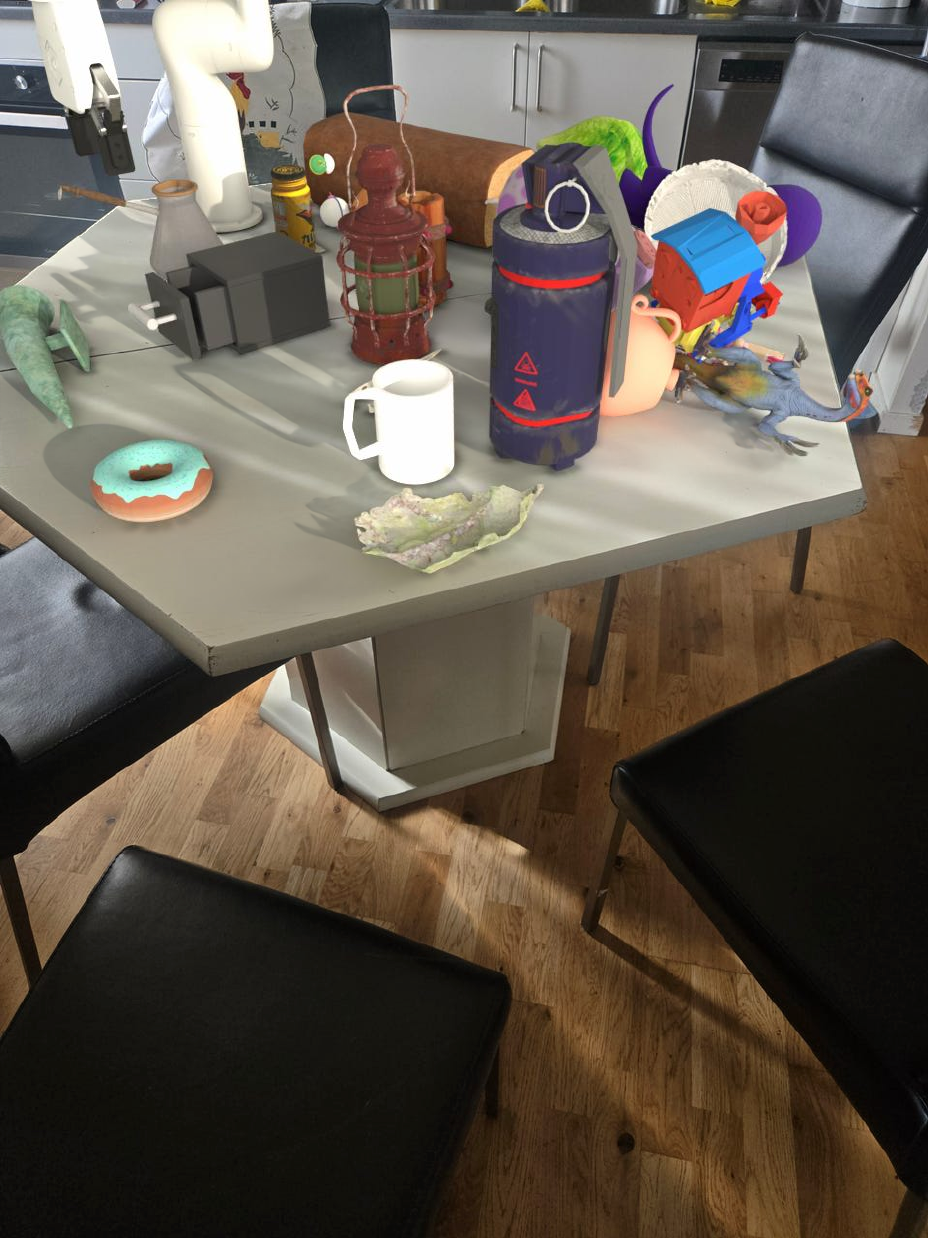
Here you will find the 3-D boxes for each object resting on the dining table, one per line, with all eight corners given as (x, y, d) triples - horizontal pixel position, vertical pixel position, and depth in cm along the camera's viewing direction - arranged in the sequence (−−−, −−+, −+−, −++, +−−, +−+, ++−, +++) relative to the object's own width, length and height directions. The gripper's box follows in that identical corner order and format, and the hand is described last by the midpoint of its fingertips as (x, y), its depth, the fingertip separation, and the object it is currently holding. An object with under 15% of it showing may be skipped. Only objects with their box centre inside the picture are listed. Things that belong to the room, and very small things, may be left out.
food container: (667, 312, 123) (655, 331, 130) (805, 275, 123) (786, 296, 130) (627, 175, 123) (617, 200, 130) (764, 139, 124) (747, 166, 131)
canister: (471, 459, 97) (472, 160, 77) (512, 409, 105) (522, 126, 85) (593, 488, 93) (628, 180, 73) (625, 433, 101) (665, 142, 81)
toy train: (630, 318, 107) (653, 214, 93) (737, 267, 110) (774, 158, 96) (682, 376, 103) (713, 277, 89) (790, 321, 106) (837, 217, 93)
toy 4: (798, 334, 107) (682, 286, 108) (785, 368, 105) (667, 319, 106) (772, 372, 114) (664, 327, 115) (760, 405, 112) (649, 359, 113)
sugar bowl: (570, 425, 100) (657, 451, 101) (615, 305, 91) (709, 334, 92) (574, 381, 110) (653, 406, 110) (615, 269, 101) (700, 296, 102)
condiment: (326, 251, 142) (317, 170, 134) (277, 262, 139) (265, 180, 131) (306, 237, 147) (296, 158, 139) (258, 248, 143) (245, 167, 135)
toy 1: (329, 153, 149) (345, 145, 142) (348, 229, 154) (365, 225, 147) (298, 159, 147) (313, 152, 141) (318, 236, 152) (334, 233, 146)
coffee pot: (222, 257, 141) (203, 154, 130) (239, 284, 133) (220, 176, 123) (81, 279, 134) (50, 172, 124) (91, 309, 127) (58, 197, 116)
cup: (334, 464, 97) (324, 379, 90) (433, 435, 101) (430, 352, 94) (365, 502, 92) (357, 415, 85) (468, 471, 96) (467, 385, 89)
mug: (462, 294, 130) (461, 184, 120) (443, 317, 124) (441, 203, 114) (370, 282, 133) (361, 174, 123) (347, 303, 128) (336, 192, 118)
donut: (212, 525, 89) (204, 492, 86) (87, 534, 87) (75, 500, 85) (219, 461, 97) (213, 429, 95) (106, 468, 96) (96, 436, 93)
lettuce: (533, 80, 145) (499, 178, 151) (652, 118, 136) (611, 221, 142) (571, 109, 157) (538, 199, 163) (683, 145, 148) (644, 239, 154)
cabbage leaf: (548, 558, 88) (426, 541, 96) (550, 481, 86) (425, 470, 94) (459, 591, 76) (327, 568, 84) (459, 501, 74) (323, 487, 82)
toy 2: (626, 137, 130) (541, 81, 104) (709, 269, 128) (643, 245, 103) (537, 219, 139) (438, 186, 114) (613, 343, 138) (531, 338, 112)
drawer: (164, 369, 111) (149, 308, 106) (130, 340, 117) (114, 281, 112) (280, 333, 119) (271, 274, 113) (242, 307, 125) (233, 250, 119)
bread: (362, 183, 167) (356, 102, 158) (538, 225, 150) (542, 137, 141) (305, 205, 158) (295, 121, 149) (485, 253, 141) (487, 161, 132)
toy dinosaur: (759, 324, 87) (922, 378, 93) (682, 284, 106) (821, 332, 111) (709, 433, 92) (866, 479, 98) (644, 377, 111) (779, 418, 116)
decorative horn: (60, 401, 97) (63, 268, 116) (-37, 431, 97) (-18, 292, 116) (91, 449, 103) (89, 314, 122) (-1, 477, 102) (12, 338, 121)
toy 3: (602, 222, 132) (811, 252, 123) (643, 49, 127) (863, 68, 119) (624, 258, 151) (806, 286, 143) (660, 110, 147) (850, 130, 138)
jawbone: (377, 415, 104) (376, 399, 103) (345, 405, 106) (343, 390, 105) (456, 363, 116) (456, 348, 115) (425, 356, 118) (425, 341, 117)
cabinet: (240, 354, 116) (227, 281, 110) (200, 324, 123) (185, 253, 116) (330, 326, 122) (322, 255, 116) (287, 299, 129) (277, 230, 122)
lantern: (367, 376, 111) (345, 105, 91) (330, 338, 119) (301, 80, 99) (453, 354, 115) (450, 90, 95) (412, 319, 123) (401, 68, 103)
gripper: (-3, -27, 94) (48, 152, 105) (49, -8, 83) (99, 187, 95) (69, -32, 97) (110, 142, 109) (127, -15, 87) (167, 175, 98)
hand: (105, 163), depth 102 cm, fingers open, 9 cm apart
